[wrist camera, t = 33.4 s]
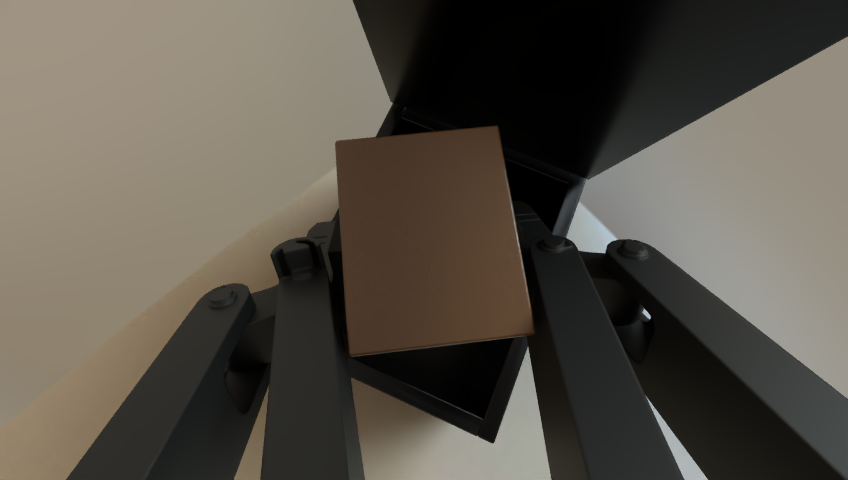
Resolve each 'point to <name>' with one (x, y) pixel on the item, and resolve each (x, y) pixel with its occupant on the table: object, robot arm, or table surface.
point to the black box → (478, 361)
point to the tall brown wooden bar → (429, 242)
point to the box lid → (587, 65)
